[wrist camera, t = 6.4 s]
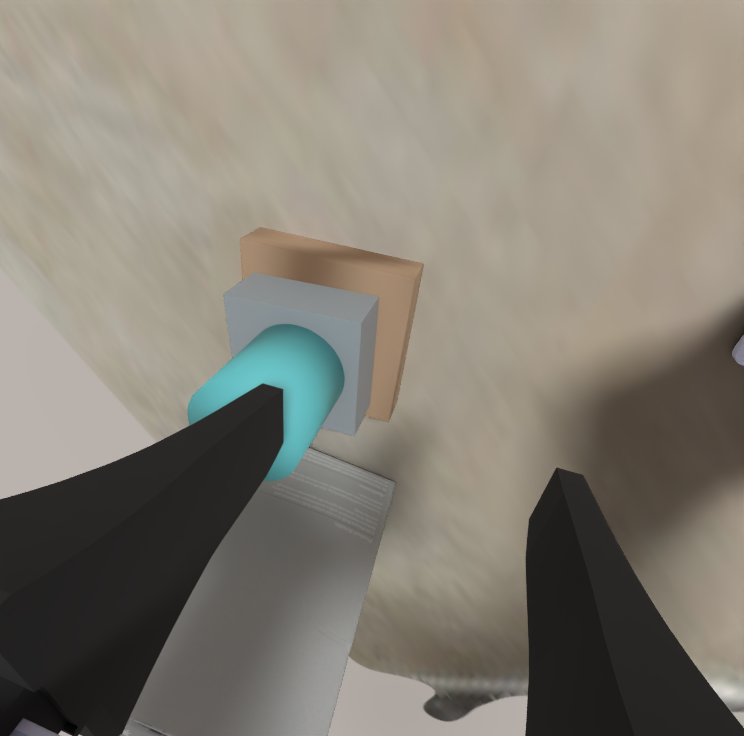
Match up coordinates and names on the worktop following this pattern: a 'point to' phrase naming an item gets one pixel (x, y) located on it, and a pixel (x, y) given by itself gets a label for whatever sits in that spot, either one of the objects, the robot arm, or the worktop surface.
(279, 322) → the slate top slab
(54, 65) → the worktop surface
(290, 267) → the walnut base slab
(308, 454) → the skincare box
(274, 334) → the teal cylinder
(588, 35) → the worktop surface
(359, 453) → the worktop surface
